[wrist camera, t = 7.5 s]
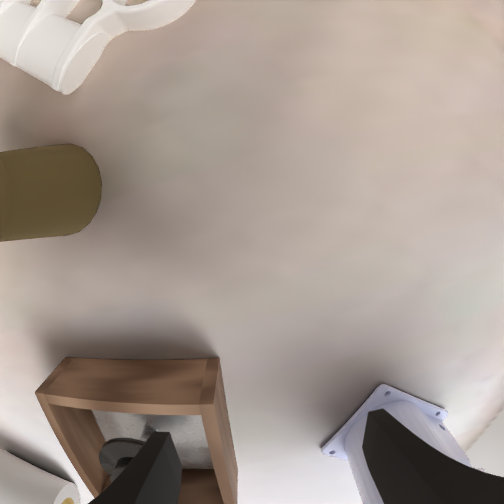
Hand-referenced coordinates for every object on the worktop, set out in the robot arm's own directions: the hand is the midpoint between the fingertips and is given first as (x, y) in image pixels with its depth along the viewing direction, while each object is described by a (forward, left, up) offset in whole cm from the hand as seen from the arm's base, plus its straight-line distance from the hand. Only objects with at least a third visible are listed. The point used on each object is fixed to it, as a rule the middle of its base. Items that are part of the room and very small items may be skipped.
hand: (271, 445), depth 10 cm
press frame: (+3, +12, -10) cm, 16 cm away
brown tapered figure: (+16, -1, -11) cm, 19 cm away
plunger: (+3, +12, -11) cm, 16 cm away
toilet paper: (+11, +32, -11) cm, 35 cm away
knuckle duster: (+23, -14, -11) cm, 30 cm away
